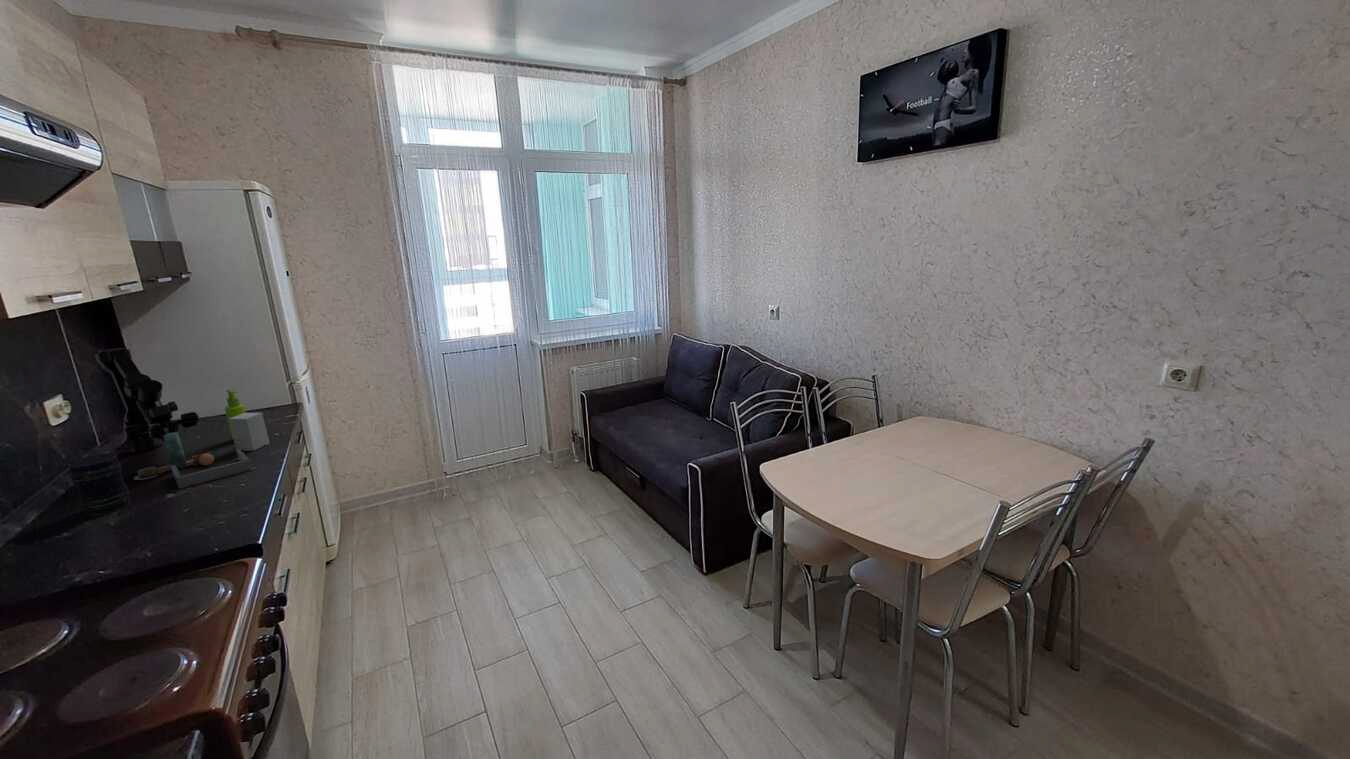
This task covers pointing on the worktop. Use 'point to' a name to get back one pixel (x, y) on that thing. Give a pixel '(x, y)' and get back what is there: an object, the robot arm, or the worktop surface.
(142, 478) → the pivot base
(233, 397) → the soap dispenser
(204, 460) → the ball
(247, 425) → the supplement box
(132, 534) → the worktop surface
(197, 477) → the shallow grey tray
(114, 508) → the storage jar
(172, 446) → the lever
